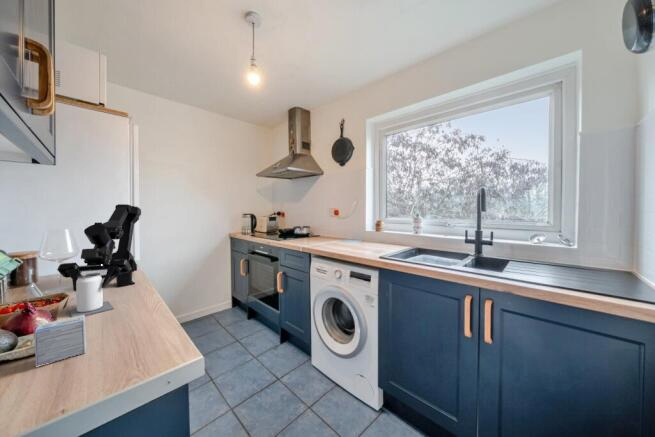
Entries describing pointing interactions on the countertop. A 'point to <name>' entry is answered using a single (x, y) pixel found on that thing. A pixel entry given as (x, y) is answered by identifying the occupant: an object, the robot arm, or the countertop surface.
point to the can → (89, 292)
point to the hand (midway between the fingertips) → (89, 289)
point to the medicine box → (60, 339)
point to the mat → (105, 307)
